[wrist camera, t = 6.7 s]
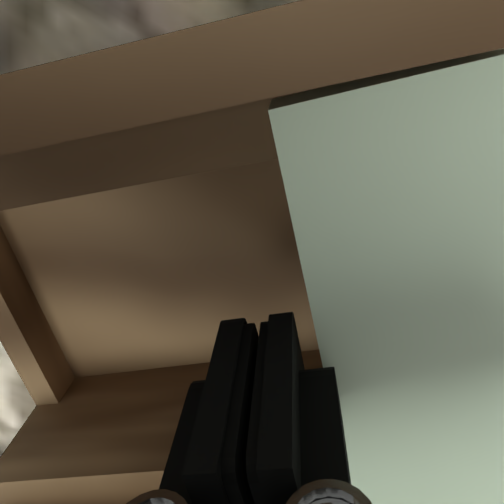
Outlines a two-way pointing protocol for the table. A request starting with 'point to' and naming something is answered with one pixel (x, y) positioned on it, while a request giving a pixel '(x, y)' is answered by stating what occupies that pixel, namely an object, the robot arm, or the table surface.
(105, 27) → the table surface
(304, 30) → the walnut box
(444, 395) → the lid
